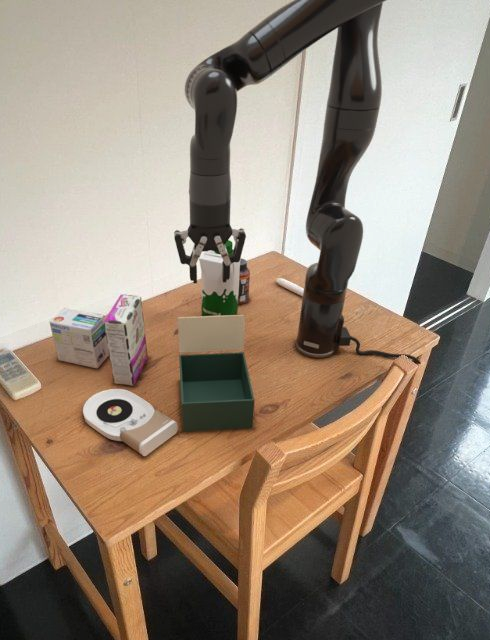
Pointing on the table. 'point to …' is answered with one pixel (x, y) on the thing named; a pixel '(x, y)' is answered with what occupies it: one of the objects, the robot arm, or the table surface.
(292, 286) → the marker
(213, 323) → the flap
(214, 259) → the milk carton
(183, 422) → the dark green open box
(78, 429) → the table surface
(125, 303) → the candy bar box
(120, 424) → the record player
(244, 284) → the supplement bottle
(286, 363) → the table surface
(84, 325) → the light bulb box
